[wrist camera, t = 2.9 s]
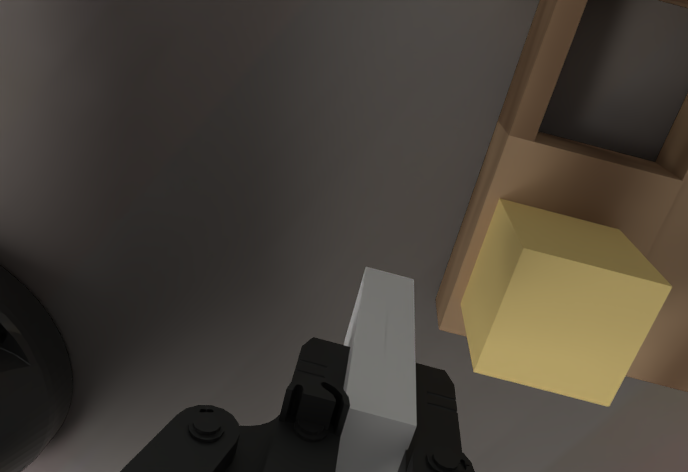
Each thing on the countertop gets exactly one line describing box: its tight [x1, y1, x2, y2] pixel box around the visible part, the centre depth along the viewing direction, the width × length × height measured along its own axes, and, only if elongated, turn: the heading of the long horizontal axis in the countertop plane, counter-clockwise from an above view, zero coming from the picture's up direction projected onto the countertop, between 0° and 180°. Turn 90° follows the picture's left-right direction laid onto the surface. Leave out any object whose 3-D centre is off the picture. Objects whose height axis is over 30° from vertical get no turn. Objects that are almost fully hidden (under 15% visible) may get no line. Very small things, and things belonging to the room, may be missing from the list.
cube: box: [461, 198, 672, 407], centre depth 22 cm, size 5×5×5 cm
